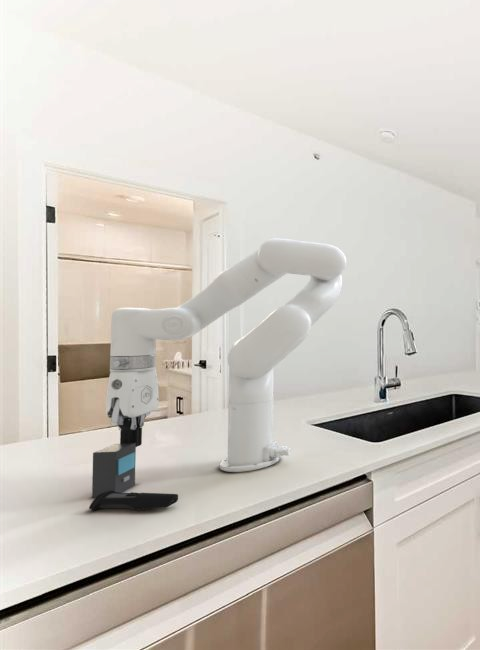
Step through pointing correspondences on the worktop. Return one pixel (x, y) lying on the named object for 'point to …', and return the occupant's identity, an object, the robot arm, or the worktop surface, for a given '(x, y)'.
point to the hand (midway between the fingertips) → (130, 446)
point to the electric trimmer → (133, 500)
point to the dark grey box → (114, 468)
